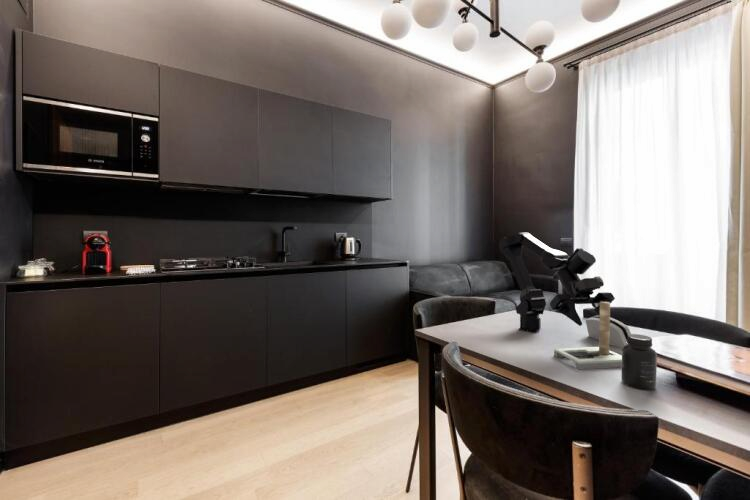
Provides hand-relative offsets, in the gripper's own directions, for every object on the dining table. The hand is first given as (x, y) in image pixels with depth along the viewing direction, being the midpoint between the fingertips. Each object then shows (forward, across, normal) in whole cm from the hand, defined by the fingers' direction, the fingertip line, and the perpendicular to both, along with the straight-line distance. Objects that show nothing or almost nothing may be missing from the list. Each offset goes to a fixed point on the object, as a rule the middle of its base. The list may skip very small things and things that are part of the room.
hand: (595, 324), depth 105 cm
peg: (+9, 0, +4) cm, 10 cm away
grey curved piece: (-1, +14, +15) cm, 21 cm away
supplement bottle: (+21, -4, -8) cm, 23 cm away
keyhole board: (+9, -4, +4) cm, 11 cm away
